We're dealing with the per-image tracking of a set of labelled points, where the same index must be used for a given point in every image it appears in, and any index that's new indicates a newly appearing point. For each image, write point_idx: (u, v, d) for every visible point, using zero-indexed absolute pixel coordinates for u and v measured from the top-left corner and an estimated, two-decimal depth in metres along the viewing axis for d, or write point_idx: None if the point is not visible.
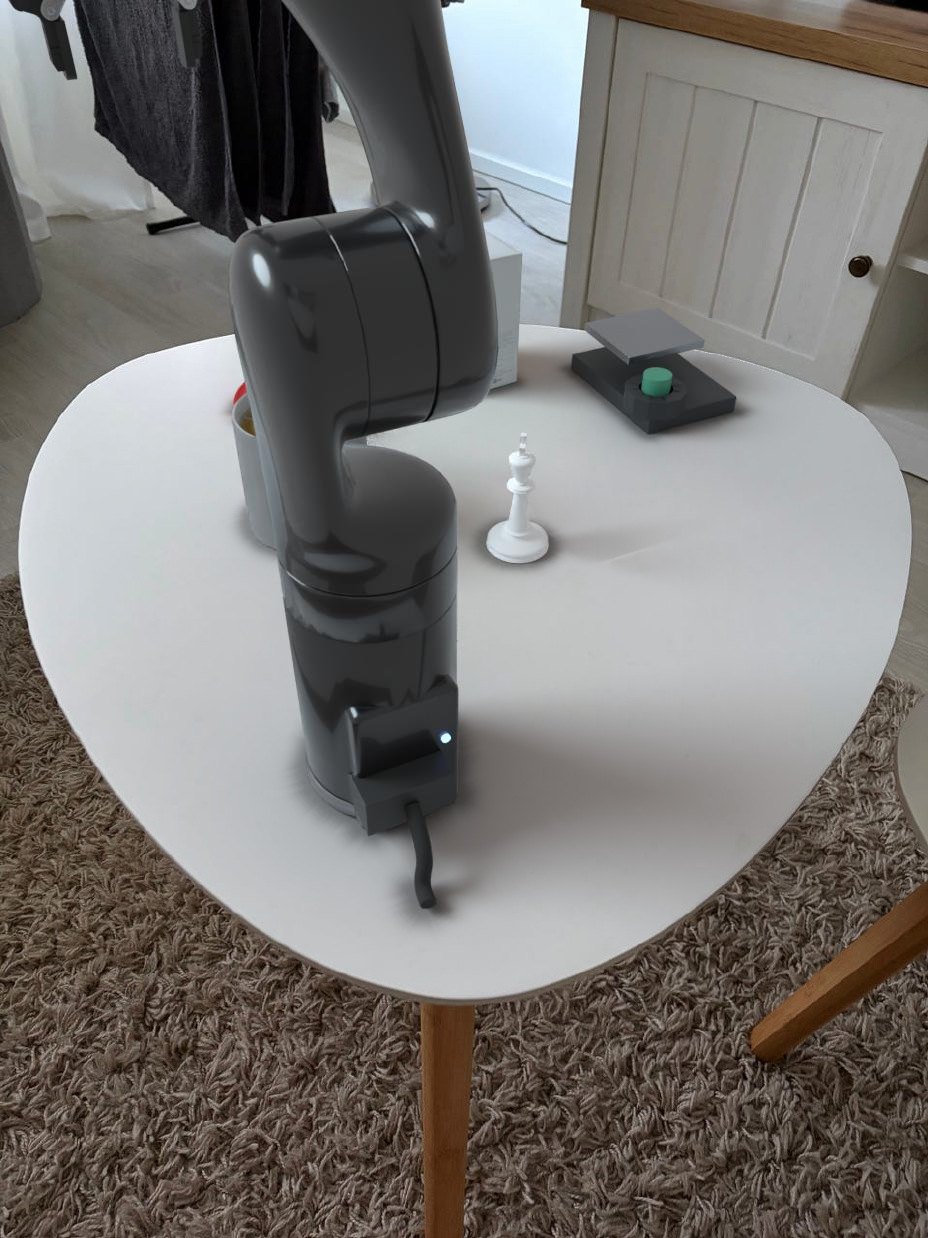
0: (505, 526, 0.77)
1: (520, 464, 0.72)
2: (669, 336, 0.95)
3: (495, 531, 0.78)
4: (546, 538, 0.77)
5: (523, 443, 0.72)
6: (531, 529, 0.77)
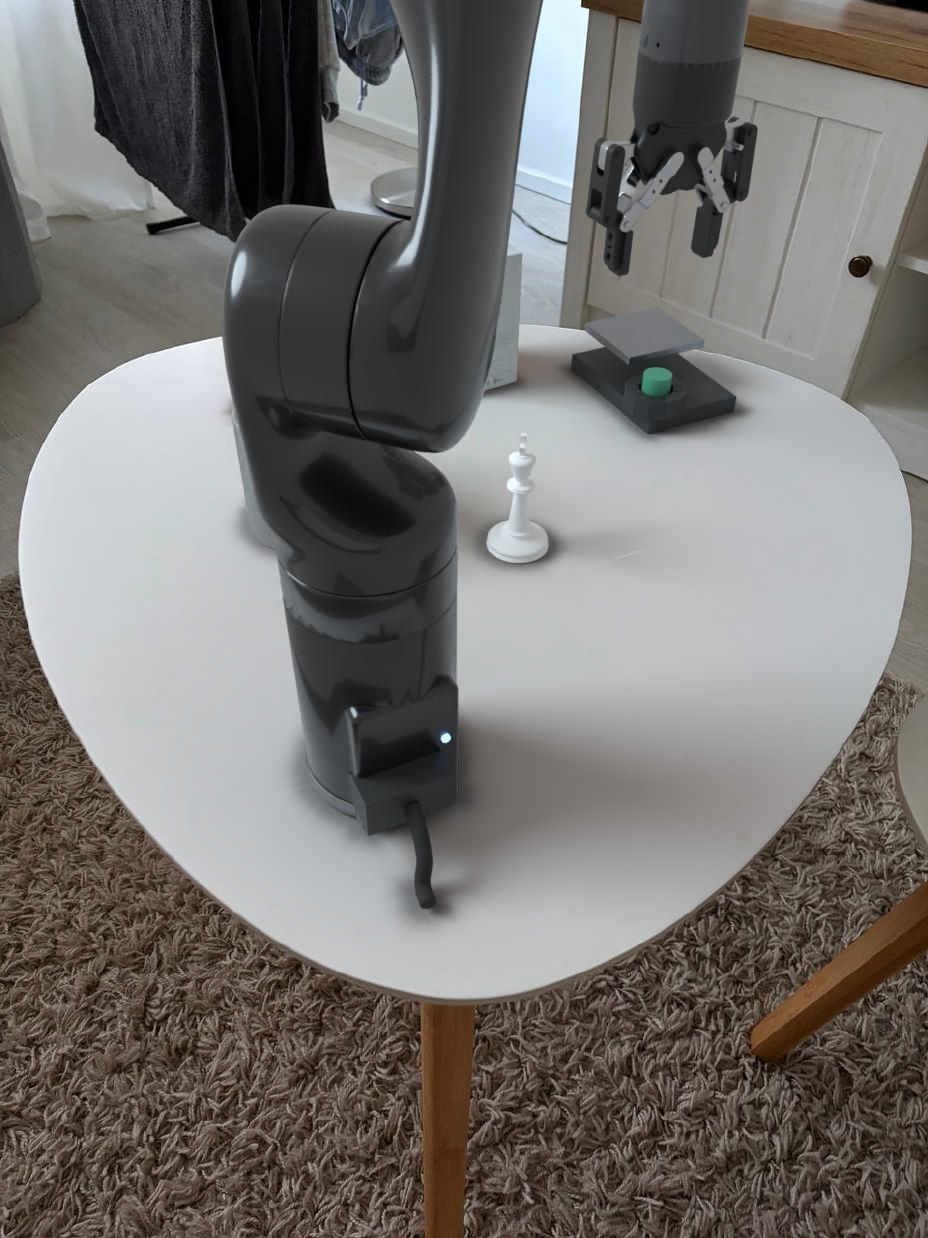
0: (505, 526, 0.77)
1: (520, 464, 0.72)
2: (669, 336, 0.95)
3: (495, 531, 0.78)
4: (546, 538, 0.77)
5: (523, 443, 0.72)
6: (531, 529, 0.77)
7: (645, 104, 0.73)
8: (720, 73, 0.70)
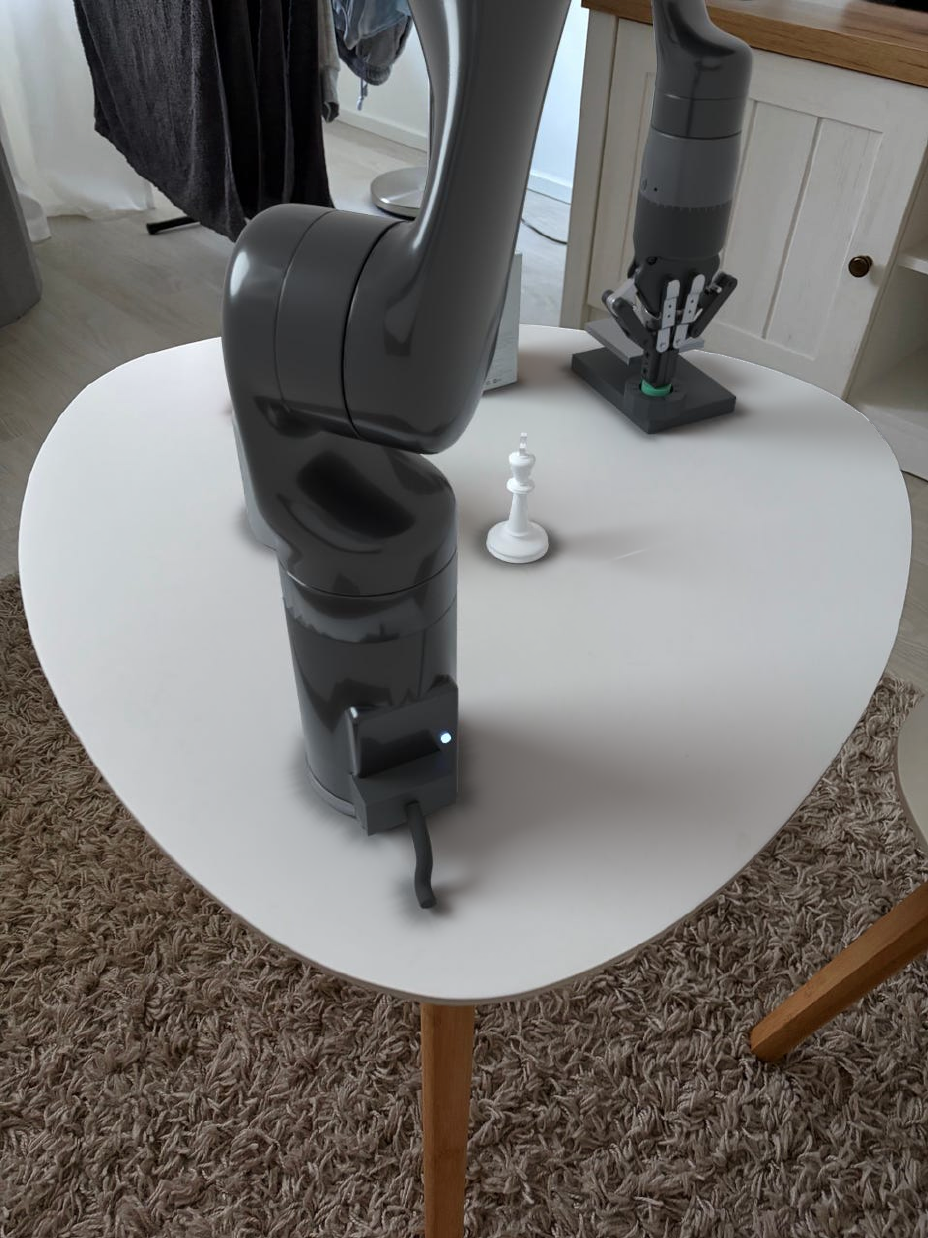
0: (505, 526, 0.77)
1: (520, 464, 0.72)
2: None
3: (495, 531, 0.78)
4: (546, 538, 0.77)
5: (523, 443, 0.72)
6: (531, 529, 0.77)
7: (644, 238, 0.79)
8: (713, 215, 0.77)
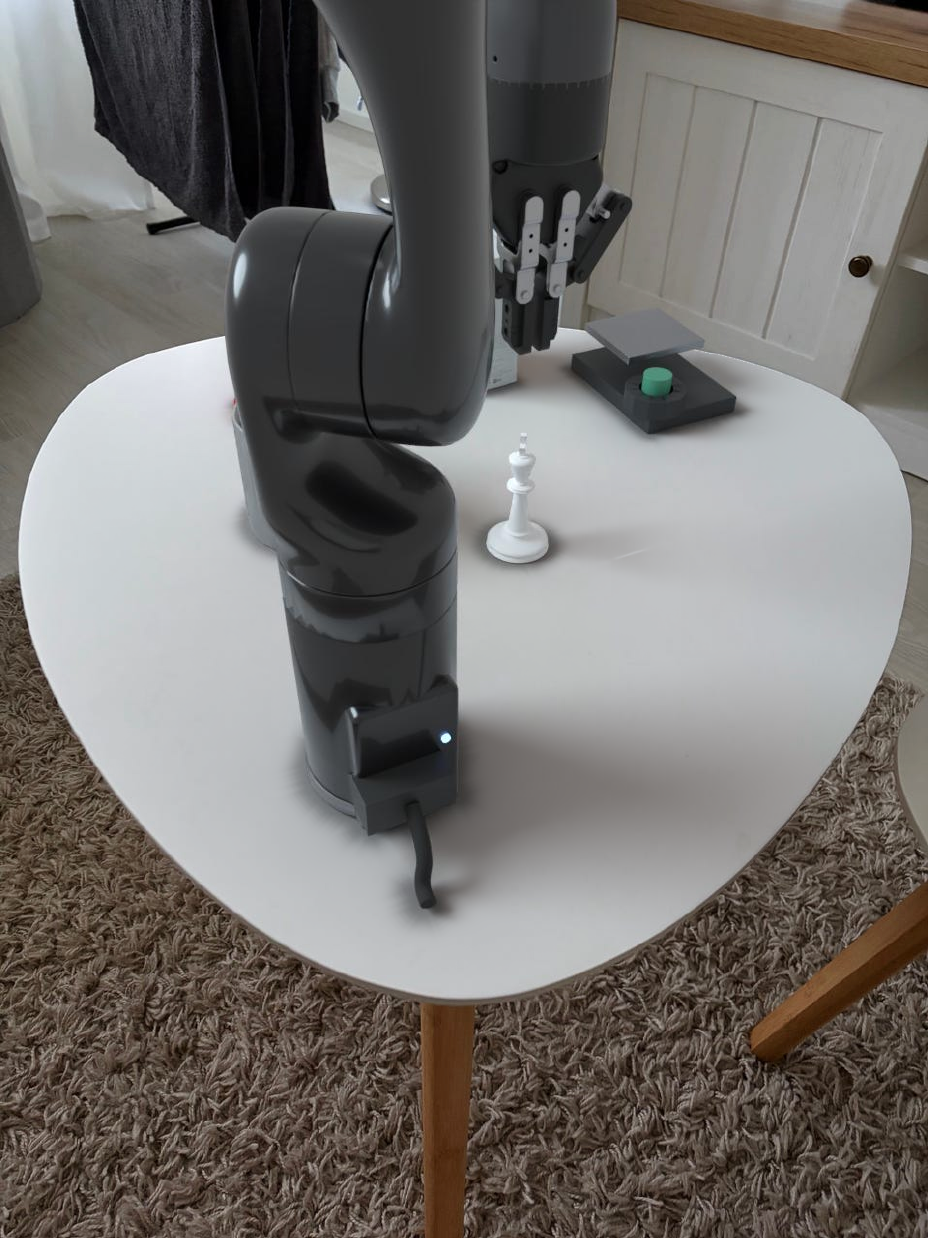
0: (505, 526, 0.77)
1: (520, 464, 0.72)
2: (669, 336, 0.95)
3: (495, 531, 0.78)
4: (546, 538, 0.77)
5: (523, 443, 0.72)
6: (531, 529, 0.77)
7: None
8: (578, 96, 0.54)
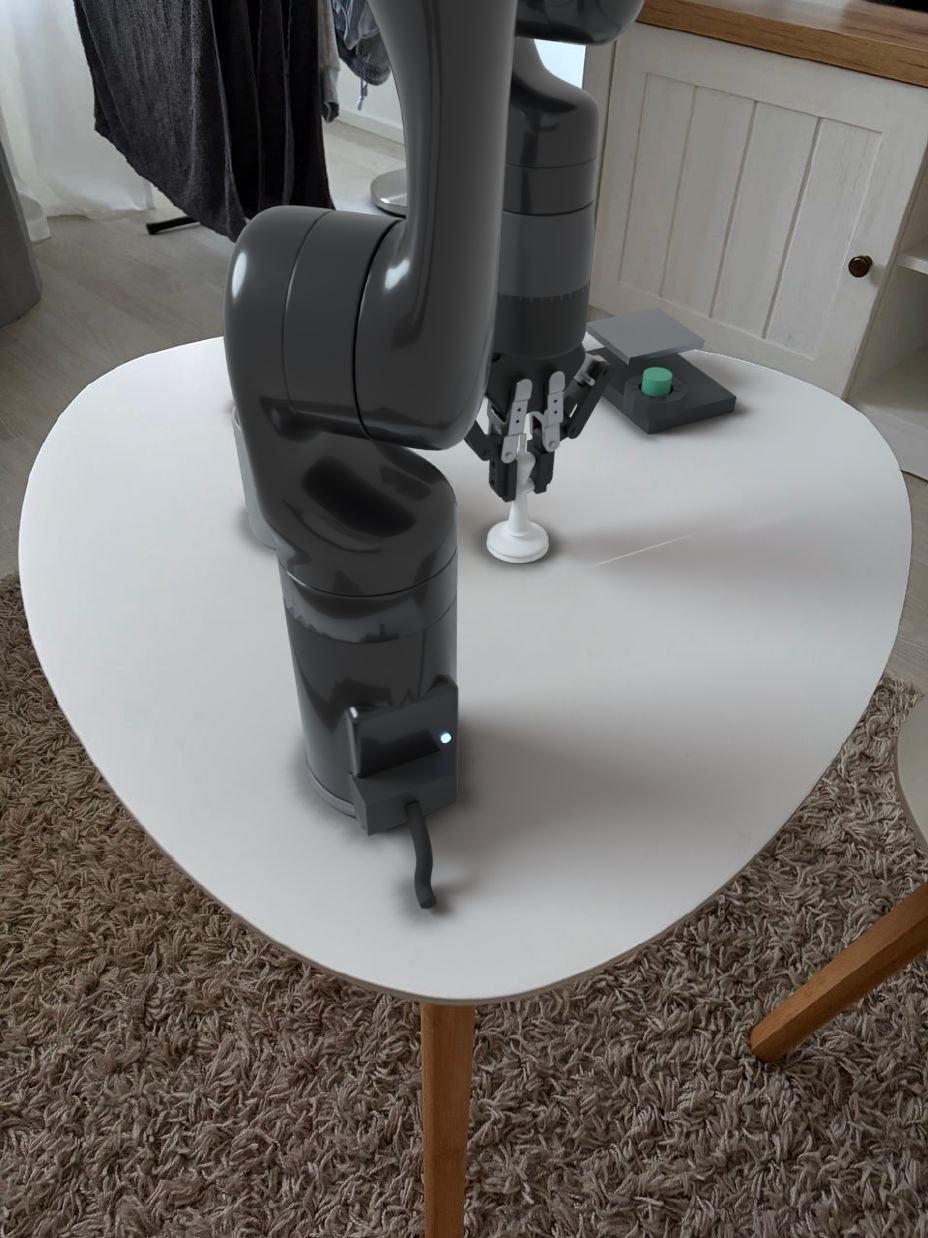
0: (505, 526, 0.77)
1: (520, 464, 0.72)
2: (669, 336, 0.95)
3: (495, 531, 0.78)
4: (546, 538, 0.77)
5: (523, 443, 0.72)
6: (531, 529, 0.77)
7: None
8: (562, 306, 0.61)
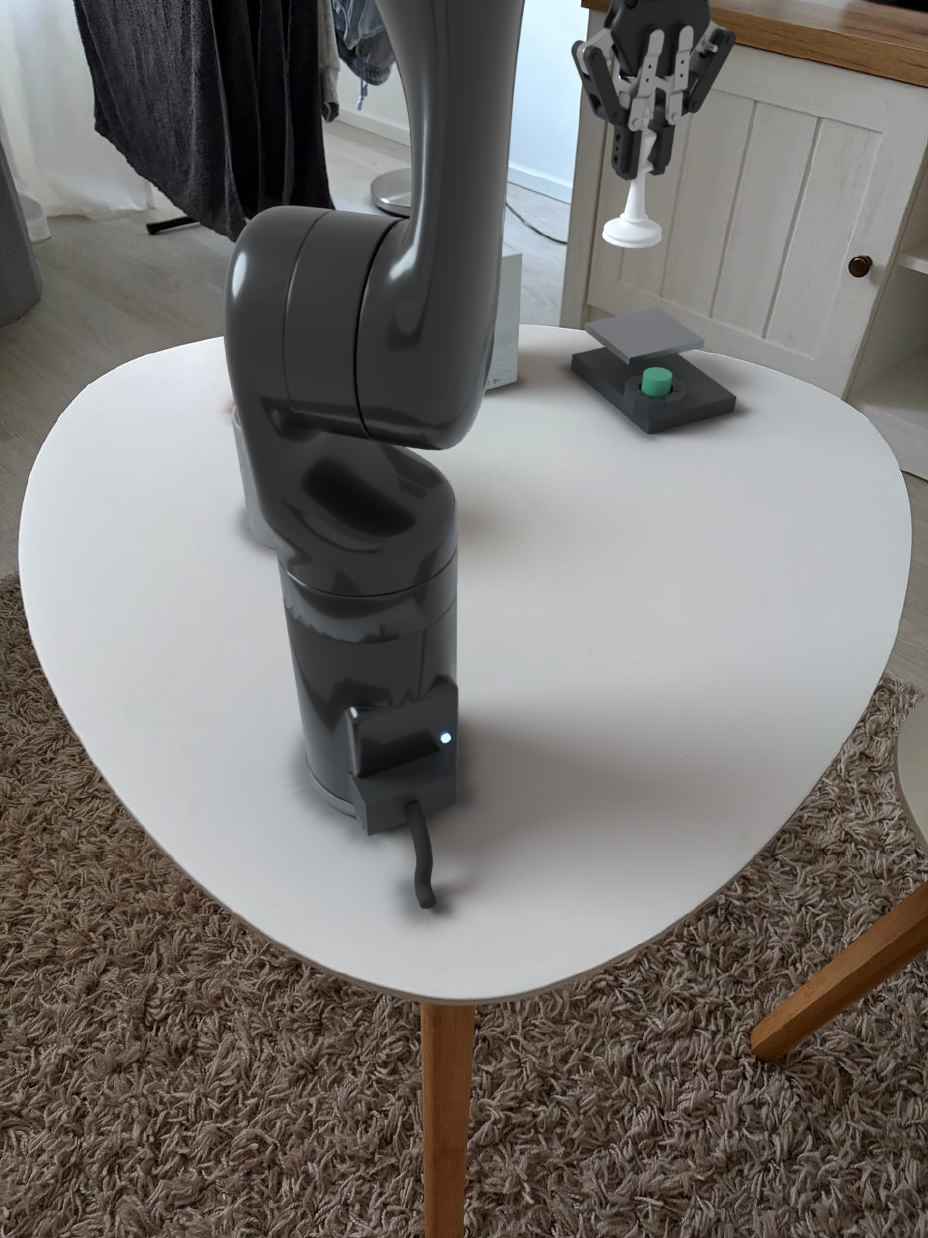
0: (621, 215, 0.81)
1: (643, 137, 0.76)
2: (669, 336, 0.95)
3: (611, 222, 0.82)
4: (660, 228, 0.81)
5: (646, 115, 0.76)
6: (646, 217, 0.81)
7: None
8: None
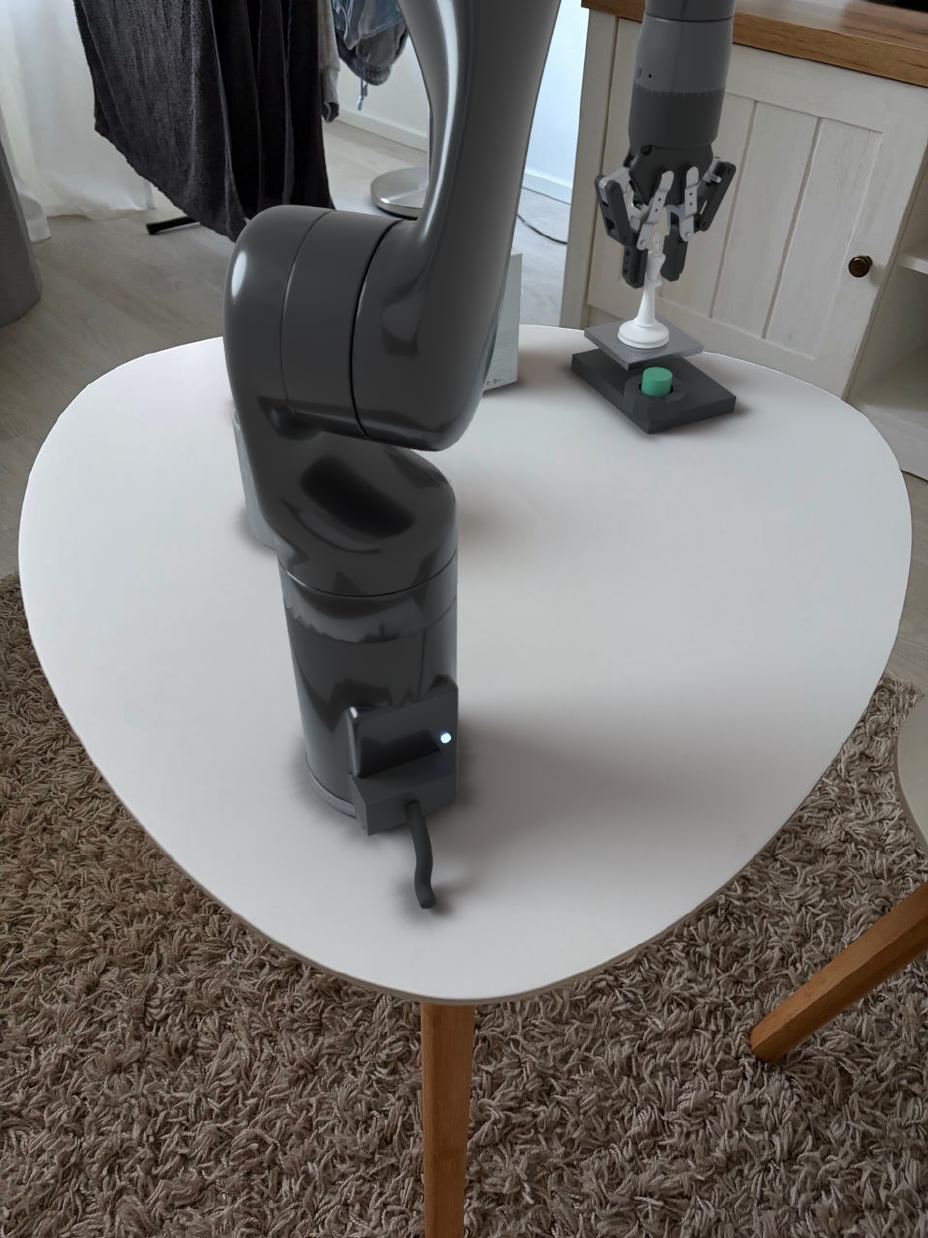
0: (634, 320, 0.94)
1: (654, 259, 0.90)
2: (668, 341, 0.95)
3: (625, 325, 0.95)
4: (667, 330, 0.95)
5: (657, 241, 0.89)
6: (656, 322, 0.94)
7: (639, 128, 0.81)
8: (706, 101, 0.79)
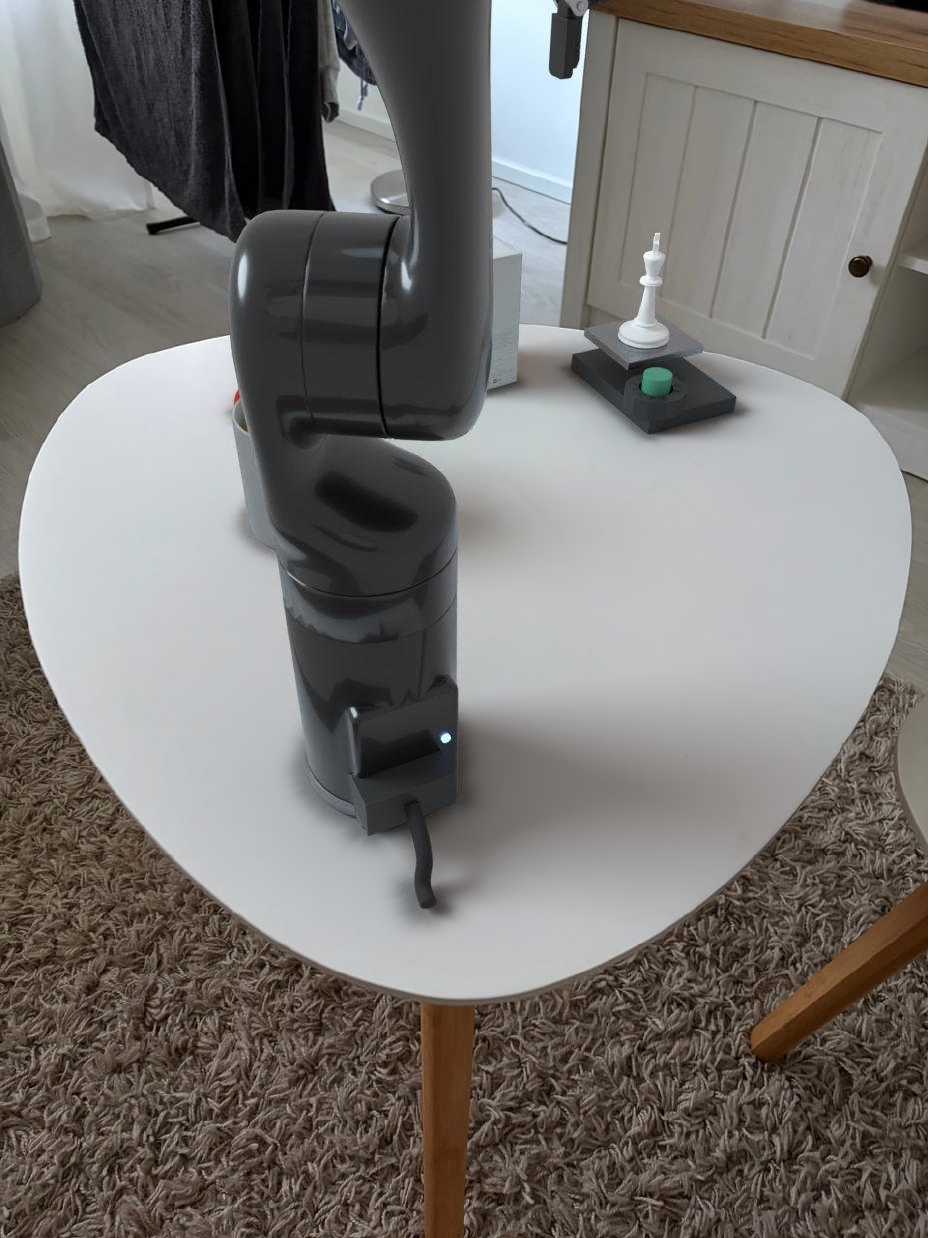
0: (634, 320, 0.94)
1: (654, 258, 0.90)
2: (668, 341, 0.95)
3: (625, 325, 0.95)
4: (667, 330, 0.95)
5: (657, 241, 0.89)
6: (656, 322, 0.94)
7: None
8: None
